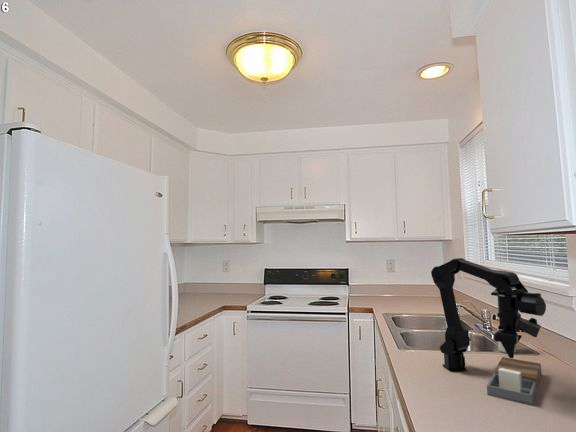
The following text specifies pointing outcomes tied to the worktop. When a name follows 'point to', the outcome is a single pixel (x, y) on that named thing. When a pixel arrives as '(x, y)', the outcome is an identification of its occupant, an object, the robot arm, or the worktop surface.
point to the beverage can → (501, 344)
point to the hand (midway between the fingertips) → (511, 357)
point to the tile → (510, 379)
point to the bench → (521, 369)
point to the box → (521, 397)
